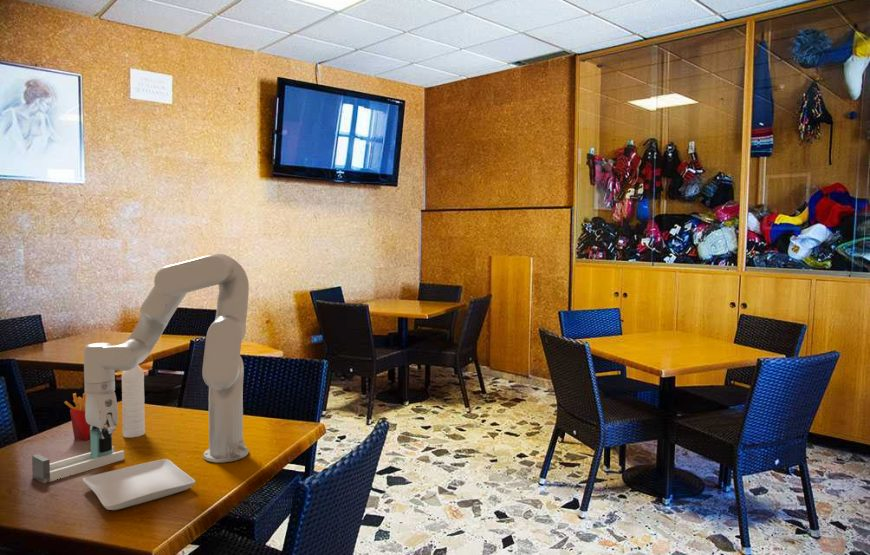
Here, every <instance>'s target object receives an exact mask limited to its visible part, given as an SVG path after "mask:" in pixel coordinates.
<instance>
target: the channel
mask: <svg viewBox="0 0 870 555" xmlns="http://www.w3.org/2000/svg"><path fill="white" fill-rule="evenodd" d="M124 460H125V450H123V449H122V450H120V451H119V450H118V451H115V447H114V445H112V454H108V455H105V456H101V457H98V458H94V459H92V458H91V451H90V452H86V453H83V454H82V453H81V454H79V455H75V456H72V457H68V458H65V459H61V460H57V461H54V462H50V459H49V458H47V457H46V456H43V455H41V454H40V453H37V454H36V453H35V454H33V455H31V461H32V462H31V465H32V467H31V468H32V470H31V471H32V478H33V477H34V478H33V479H35V480H36V479H37V481H38V482H39V483H42V485H44V484H47V482H48V483H50V482H54V481H58V480H60V478H61V479H64V478H68V477H70V475H71V476H74V475H77V474H80V473H83V472H87V471H89V470H90V471H91V470H93V469H97V468H100V467H103V466H107V465H109V464H110V465H111V464H113V463H117V462H120V461H124ZM57 479H58V480H57Z"/></svg>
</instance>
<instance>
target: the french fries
mask: <svg viewBox="0 0 870 555" xmlns="http://www.w3.org/2000/svg"><path fill="white" fill-rule="evenodd" d="M72 398H73V400H72V402H73V403H74V405H75V406H73V405H72V404H71V403H70V402H69V401H67V400H65V401H64V402H63V403H64V404H65V405H66V406H67V407H68V408H70V409H69V413H70V418H71V419H70V421H71V425H72V426H71V427H72V431H73V432H72V433H73V438H74V440H77V441H82V442H88V441H90V427H89V424H88V423H87V422H86V418H85V402H86V394H85V392H84V393H82V397H81V396H78V397H77V393H76V392H75V393H72Z"/></svg>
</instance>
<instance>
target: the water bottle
mask: <svg viewBox="0 0 870 555" xmlns="http://www.w3.org/2000/svg"><path fill="white" fill-rule="evenodd" d="M121 392H122V393H121V397H122V398H121V402H122V403H121V404H122V405H121V406H122V407H121V408H122V409H121V410H122V412H121V413H122V436H123V438H127V439H128V438H130V439H132V438H139V437H141V436H144V435H145V434H146V426H145V425H146V421H145V418H146V417H145V416H146V414H145V374H144V370H143V368H141V366H140V364H138V365H137V366H136V367H134V368H133V369H131V370H127V371H122V373H121Z"/></svg>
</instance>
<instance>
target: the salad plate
mask: <svg viewBox="0 0 870 555" xmlns="http://www.w3.org/2000/svg"><path fill="white" fill-rule="evenodd" d="M82 481H83V483H84V484H85V485H86V486H87V487H88V488H89V489H90V490H91V491H92V492H93V493H94V494H95V495H96V497H97V498H98V500H99V502H100V504H101V505H102V506H103V508H105V510H111V511H117V510H122V509H126V508H130V507H133V506H137V505H140V504H141V505H142V504H143V503H147V502H151V501H154V500H157V499H161V498H164V497H168V496H171V495H174V494H177V493H181V492H183V491H185V490H189V489H190V488H191V487H193V485H195V484H196V480H195V479H194V478H193V477H191V476H190V475H189V474H188V473H187V472H185V471H183V470H182V469H181V468H179V467H178V466H177V465H176V464H175V463H174V462H173V461H171V460H170V459H167V458H163V459H158V460H154V461H153V460H152V461H149V462H143V463H139V464H135V465H130V466H127V467H122V468H118V469H113V470H110V471H105V472H102V473H98V474H94V475H89V476H86V477H83V478H82Z"/></svg>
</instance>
